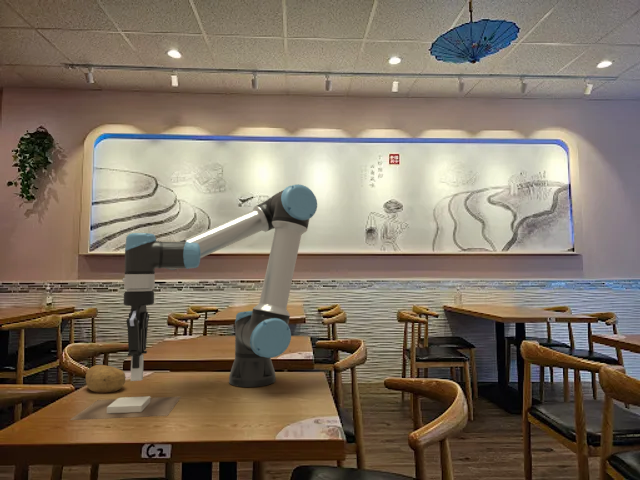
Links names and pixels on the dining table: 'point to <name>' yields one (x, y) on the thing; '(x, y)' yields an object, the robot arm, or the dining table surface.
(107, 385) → the potato
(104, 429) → the dining table surface
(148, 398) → the tile
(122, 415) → the board
